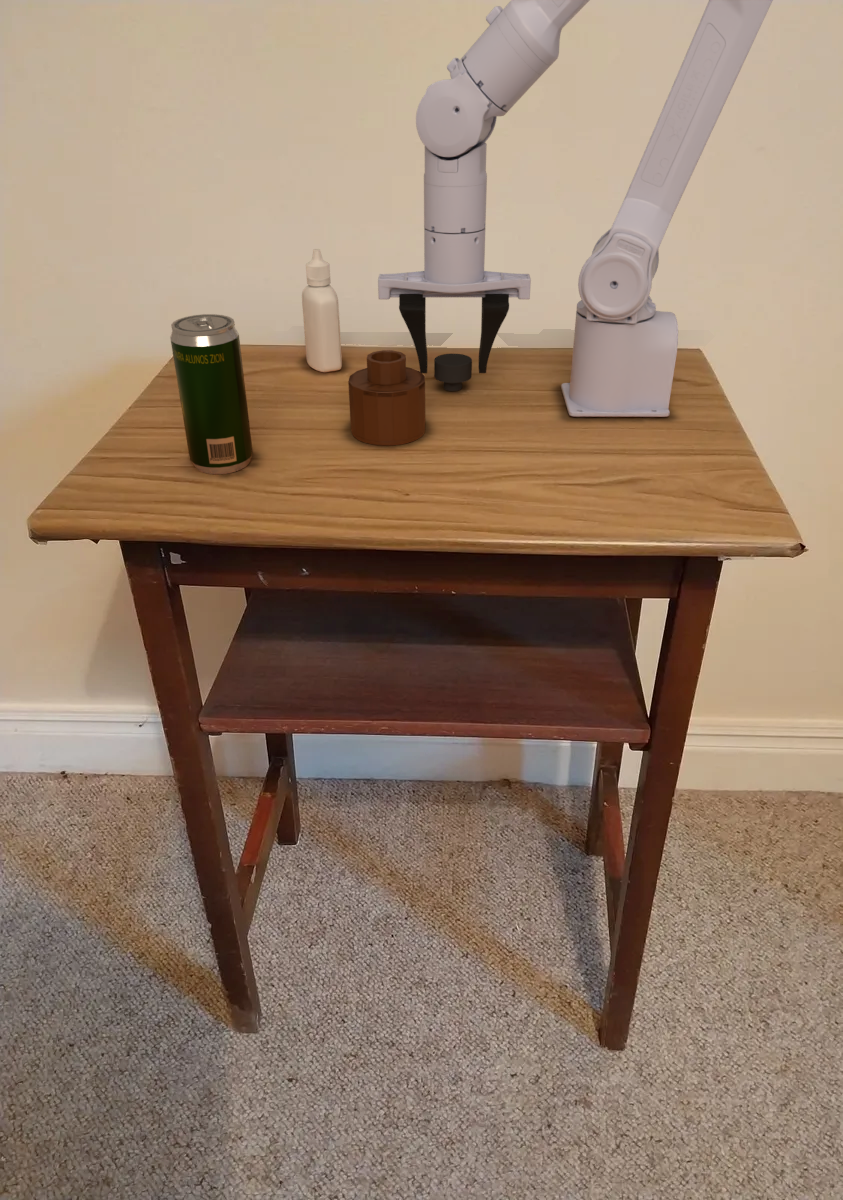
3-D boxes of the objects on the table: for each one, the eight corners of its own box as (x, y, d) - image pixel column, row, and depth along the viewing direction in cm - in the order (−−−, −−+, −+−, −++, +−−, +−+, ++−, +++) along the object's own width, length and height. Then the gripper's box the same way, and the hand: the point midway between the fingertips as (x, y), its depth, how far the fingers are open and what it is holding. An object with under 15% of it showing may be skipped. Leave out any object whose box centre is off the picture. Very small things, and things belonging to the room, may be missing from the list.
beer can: (261, 468, 77) (245, 327, 71) (199, 480, 75) (176, 337, 69) (243, 445, 81) (226, 310, 75) (183, 456, 79) (161, 318, 73)
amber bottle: (425, 416, 87) (425, 344, 83) (424, 445, 81) (423, 369, 77) (354, 416, 87) (351, 344, 83) (348, 445, 81) (344, 369, 77)
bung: (470, 381, 94) (471, 353, 93) (471, 395, 91) (472, 365, 90) (434, 381, 94) (434, 353, 93) (434, 394, 91) (434, 365, 90)
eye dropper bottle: (348, 356, 101) (342, 243, 95) (340, 374, 97) (333, 256, 90) (309, 355, 102) (300, 243, 95) (299, 373, 97) (289, 256, 90)
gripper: (529, 218, 87) (522, 356, 95) (379, 219, 88) (383, 356, 95) (535, 234, 82) (526, 380, 89) (374, 235, 82) (379, 380, 89)
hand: (453, 370), depth 92 cm, fingers open, 5 cm apart
